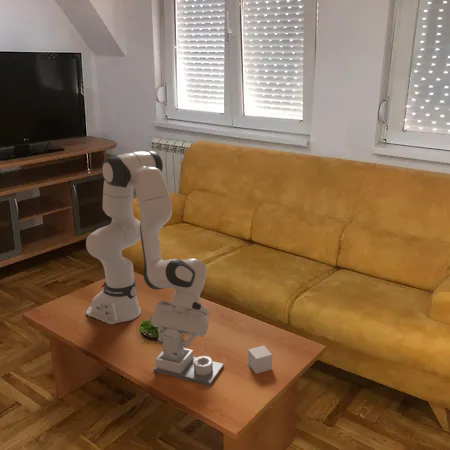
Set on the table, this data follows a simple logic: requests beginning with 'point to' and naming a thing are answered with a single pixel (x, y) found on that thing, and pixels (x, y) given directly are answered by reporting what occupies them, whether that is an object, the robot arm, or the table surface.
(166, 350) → the skincare box
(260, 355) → the light grey cube
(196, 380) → the socket holder
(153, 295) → the table surface
